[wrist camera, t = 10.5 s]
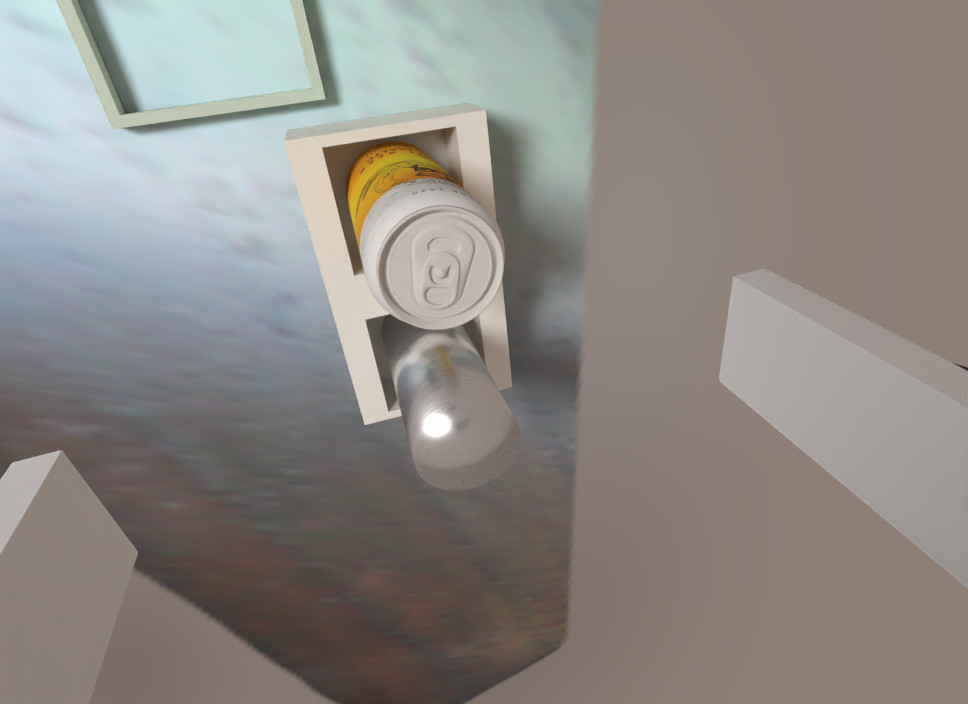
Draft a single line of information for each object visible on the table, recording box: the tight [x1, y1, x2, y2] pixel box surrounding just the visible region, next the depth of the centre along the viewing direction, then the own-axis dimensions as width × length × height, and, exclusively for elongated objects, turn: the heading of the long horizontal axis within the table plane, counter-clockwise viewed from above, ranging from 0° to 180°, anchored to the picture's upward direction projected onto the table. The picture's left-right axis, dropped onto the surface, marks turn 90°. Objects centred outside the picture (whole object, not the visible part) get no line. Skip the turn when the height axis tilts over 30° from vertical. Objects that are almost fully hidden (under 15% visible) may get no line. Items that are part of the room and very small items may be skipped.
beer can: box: [346, 141, 505, 330], centre depth 28 cm, size 6×6×15 cm
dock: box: [284, 103, 512, 425], centre depth 35 cm, size 19×11×4 cm, turn 6°
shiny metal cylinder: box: [382, 314, 520, 491], centre depth 34 cm, size 6×6×14 cm
